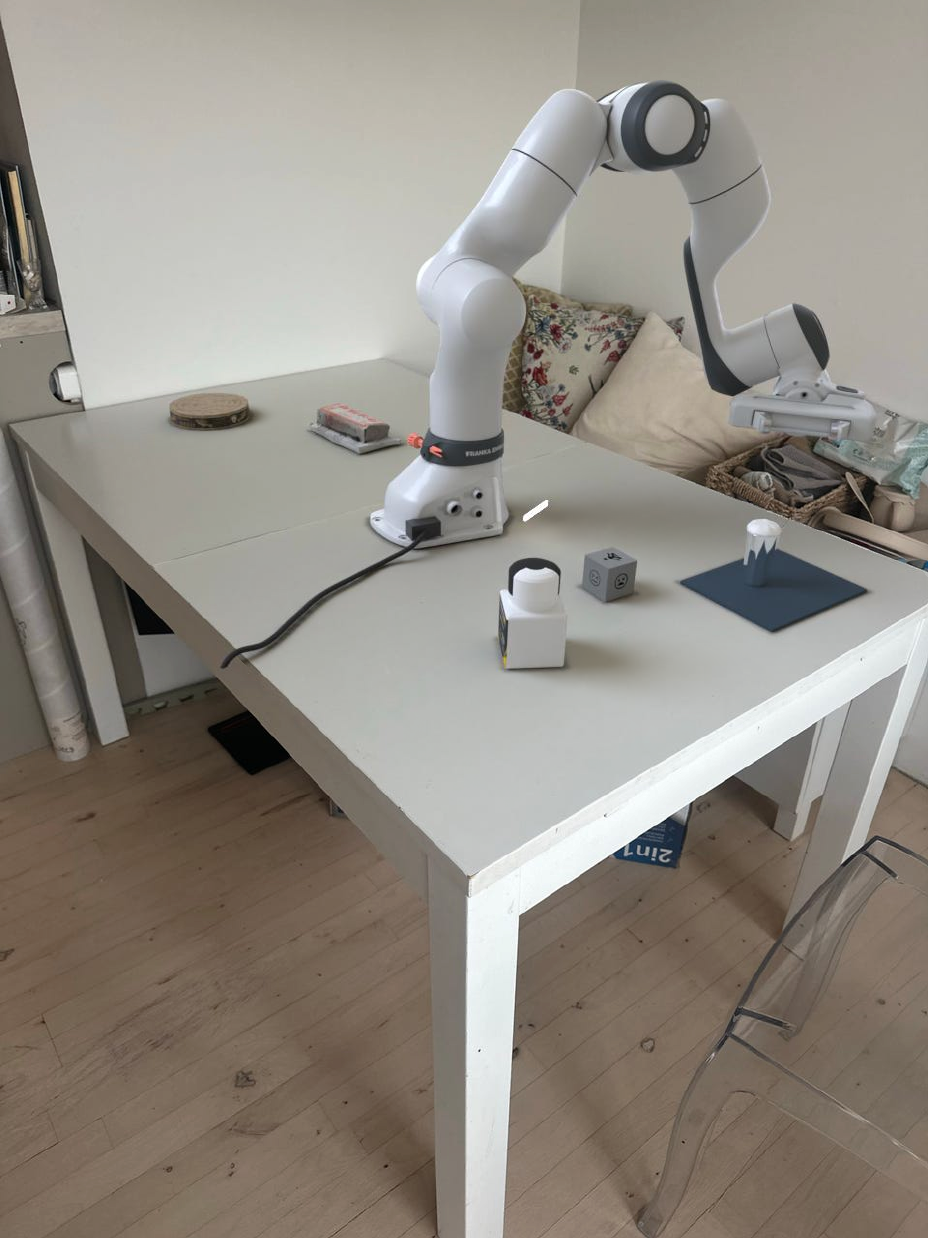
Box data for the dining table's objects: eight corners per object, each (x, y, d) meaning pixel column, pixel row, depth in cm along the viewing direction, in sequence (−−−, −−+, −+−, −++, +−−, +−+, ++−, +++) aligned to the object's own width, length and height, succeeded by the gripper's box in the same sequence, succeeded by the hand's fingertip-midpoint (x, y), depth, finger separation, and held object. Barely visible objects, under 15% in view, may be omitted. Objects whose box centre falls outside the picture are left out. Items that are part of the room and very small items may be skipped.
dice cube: (633, 593, 125) (637, 560, 122) (605, 602, 122) (608, 569, 120) (609, 578, 128) (613, 546, 126) (581, 587, 126) (584, 554, 123)
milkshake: (778, 591, 125) (792, 524, 120) (738, 587, 126) (750, 521, 121) (775, 576, 129) (788, 511, 124) (736, 572, 129) (748, 507, 124)
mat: (771, 632, 116) (772, 629, 116) (680, 583, 127) (680, 580, 127) (866, 591, 126) (867, 589, 126) (773, 549, 137) (774, 547, 137)
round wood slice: (241, 403, 198) (239, 389, 196) (257, 424, 185) (256, 410, 184) (165, 411, 192) (163, 397, 191) (177, 434, 180) (175, 419, 178)
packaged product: (306, 407, 180) (348, 398, 185) (308, 431, 182) (349, 421, 188) (358, 430, 168) (401, 420, 174) (359, 455, 170) (402, 444, 176)
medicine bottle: (497, 638, 114) (500, 552, 108) (553, 636, 114) (560, 550, 108) (504, 670, 108) (508, 580, 101) (564, 667, 108) (571, 578, 102)
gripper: (735, 377, 140) (727, 401, 129) (876, 392, 135) (882, 419, 123) (728, 417, 143) (720, 444, 132) (866, 433, 138) (870, 463, 126)
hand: (799, 432), depth 127 cm, fingers open, 8 cm apart
